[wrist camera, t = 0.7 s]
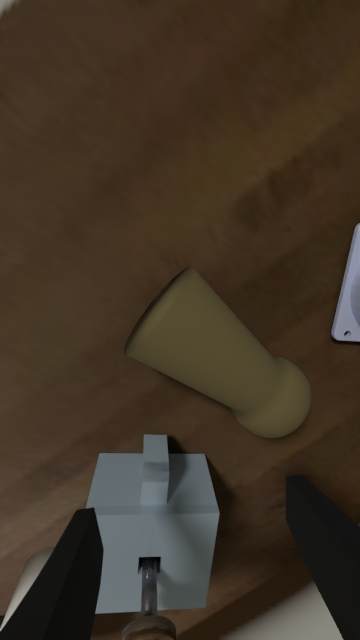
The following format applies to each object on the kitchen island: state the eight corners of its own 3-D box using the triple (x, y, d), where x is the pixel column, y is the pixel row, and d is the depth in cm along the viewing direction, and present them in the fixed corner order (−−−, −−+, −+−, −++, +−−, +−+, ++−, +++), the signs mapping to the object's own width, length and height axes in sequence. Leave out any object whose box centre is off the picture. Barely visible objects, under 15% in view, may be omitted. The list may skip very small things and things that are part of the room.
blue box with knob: (208, 427, 22) (224, 480, 17) (194, 533, 24) (205, 607, 19) (100, 425, 21) (84, 481, 16) (97, 536, 23) (83, 614, 18)
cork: (198, 251, 17) (314, 355, 20) (140, 312, 20) (248, 394, 23) (186, 304, 12) (343, 431, 15) (111, 374, 15) (254, 468, 18)
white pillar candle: (97, 545, 24) (80, 642, 18) (96, 597, 25) (80, 703, 19) (21, 547, 23) (-23, 649, 17) (24, 601, 24) (-15, 711, 19)
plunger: (172, 527, 19) (180, 645, 13) (168, 559, 20) (175, 684, 14) (129, 528, 19) (119, 649, 13) (127, 560, 19) (117, 689, 14)
